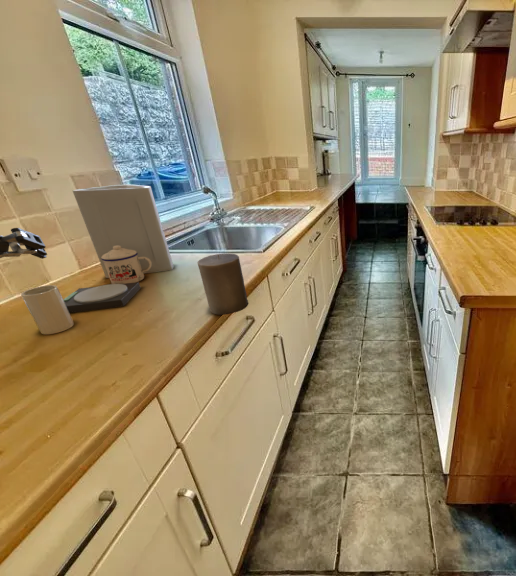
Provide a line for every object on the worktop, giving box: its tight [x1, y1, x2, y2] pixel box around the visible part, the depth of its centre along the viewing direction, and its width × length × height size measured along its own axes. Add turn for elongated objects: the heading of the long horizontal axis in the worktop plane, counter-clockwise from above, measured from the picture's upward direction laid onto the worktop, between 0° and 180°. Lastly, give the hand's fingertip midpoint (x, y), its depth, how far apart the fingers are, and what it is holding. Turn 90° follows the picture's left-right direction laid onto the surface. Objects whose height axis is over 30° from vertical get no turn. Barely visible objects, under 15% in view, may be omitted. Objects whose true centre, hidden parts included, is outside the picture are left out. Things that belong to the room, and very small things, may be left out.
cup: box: [20, 284, 75, 335], centre depth 74 cm, size 6×6×10 cm
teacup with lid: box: [101, 245, 151, 284], centre depth 102 cm, size 12×9×12 cm
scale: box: [63, 281, 142, 314], centre depth 90 cm, size 15×13×2 cm
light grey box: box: [72, 183, 174, 279], centre depth 109 cm, size 19×15×28 cm
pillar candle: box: [197, 252, 249, 316], centre depth 83 cm, size 10×10×15 cm
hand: (18, 263), depth 66 cm, fingers open, 8 cm apart
